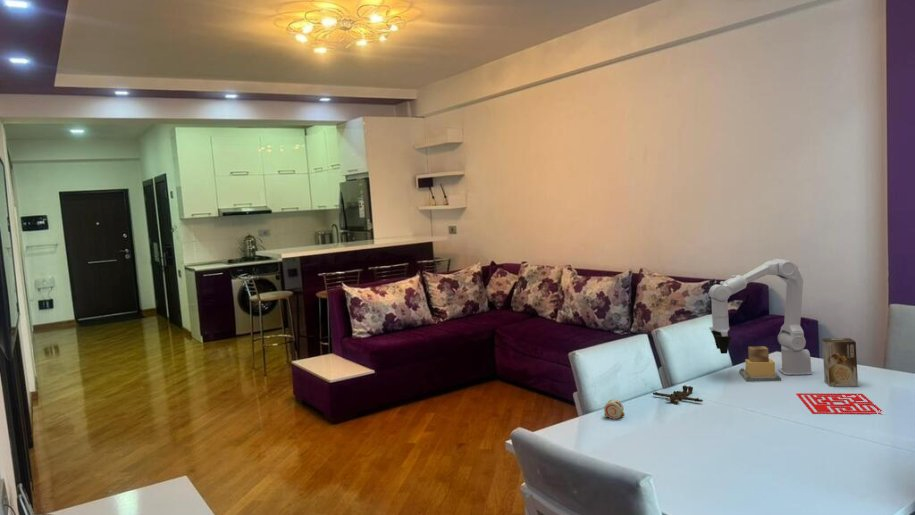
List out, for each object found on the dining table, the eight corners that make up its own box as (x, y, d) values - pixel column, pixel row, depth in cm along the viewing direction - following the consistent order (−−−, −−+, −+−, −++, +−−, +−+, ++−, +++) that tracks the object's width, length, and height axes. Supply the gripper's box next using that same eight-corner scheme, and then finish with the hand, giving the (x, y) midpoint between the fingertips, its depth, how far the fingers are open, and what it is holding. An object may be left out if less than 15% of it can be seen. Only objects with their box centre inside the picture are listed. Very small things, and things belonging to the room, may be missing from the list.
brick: (771, 371, 236) (770, 358, 236) (775, 375, 231) (774, 362, 230) (745, 371, 238) (745, 359, 238) (749, 375, 233) (748, 362, 232)
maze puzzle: (885, 416, 188) (885, 413, 188) (812, 415, 193) (812, 413, 193) (862, 395, 207) (862, 393, 207) (796, 395, 212) (796, 393, 212)
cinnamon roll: (606, 414, 208) (605, 397, 207) (625, 415, 205) (624, 399, 204) (603, 418, 204) (602, 401, 203) (622, 420, 201) (621, 403, 201)
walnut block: (765, 359, 236) (765, 346, 235) (768, 362, 231) (768, 349, 231) (748, 359, 237) (748, 346, 237) (751, 362, 233) (751, 349, 232)
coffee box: (852, 381, 220) (851, 337, 219) (858, 387, 214) (857, 341, 213) (823, 381, 223) (822, 338, 222) (828, 386, 217) (827, 342, 216)
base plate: (772, 372, 239) (772, 367, 239) (781, 380, 227) (781, 376, 227) (739, 372, 242) (738, 368, 242) (746, 381, 230) (746, 376, 230)
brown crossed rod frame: (713, 388, 217) (697, 396, 206) (713, 400, 217) (697, 408, 206) (664, 381, 229) (646, 388, 219) (664, 393, 229) (646, 400, 219)
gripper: (705, 313, 244) (707, 346, 245) (712, 320, 229) (714, 355, 231) (724, 312, 242) (726, 346, 243) (732, 319, 228) (734, 355, 229)
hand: (721, 350), depth 237 cm, fingers open, 7 cm apart
